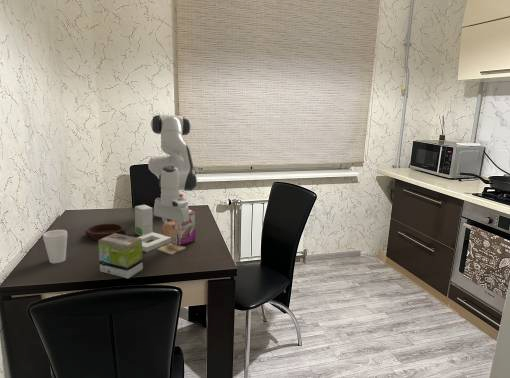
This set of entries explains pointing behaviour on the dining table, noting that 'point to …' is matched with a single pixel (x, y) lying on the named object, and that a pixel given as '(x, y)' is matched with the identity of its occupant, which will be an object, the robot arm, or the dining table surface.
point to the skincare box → (143, 220)
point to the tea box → (120, 255)
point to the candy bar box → (186, 230)
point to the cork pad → (171, 248)
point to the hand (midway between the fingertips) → (171, 227)
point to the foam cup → (56, 245)
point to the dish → (104, 230)
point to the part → (169, 229)
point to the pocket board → (158, 241)
